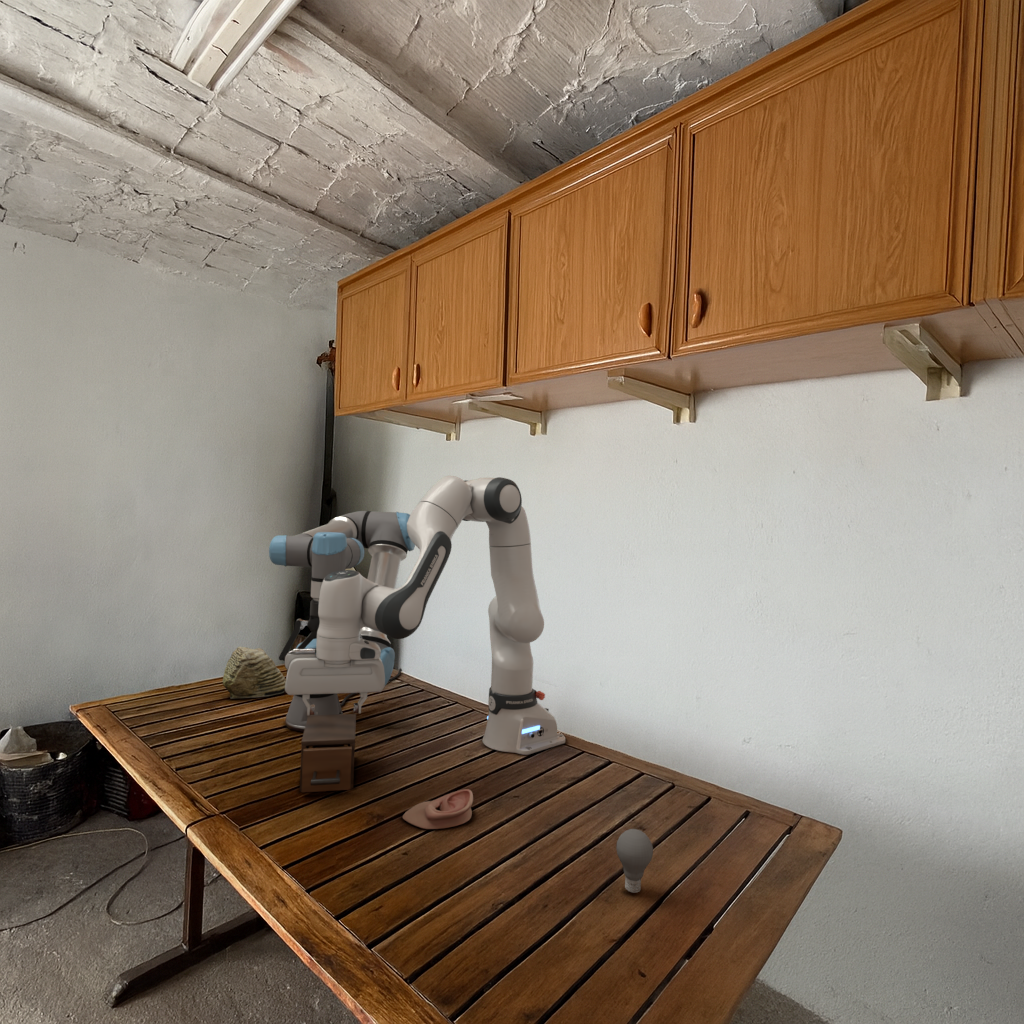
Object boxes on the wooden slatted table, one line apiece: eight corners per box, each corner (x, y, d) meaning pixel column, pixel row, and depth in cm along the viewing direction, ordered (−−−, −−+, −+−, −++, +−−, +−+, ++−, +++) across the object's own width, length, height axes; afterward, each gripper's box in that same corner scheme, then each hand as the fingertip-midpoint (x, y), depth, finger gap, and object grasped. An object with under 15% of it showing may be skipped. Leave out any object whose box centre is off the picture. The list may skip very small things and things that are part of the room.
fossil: (218, 695, 195) (220, 647, 195) (278, 685, 208) (279, 640, 207) (228, 703, 189) (230, 653, 188) (289, 692, 201) (290, 645, 201)
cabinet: (353, 788, 138) (355, 739, 138) (299, 792, 136) (301, 741, 135) (354, 758, 154) (356, 713, 154) (306, 760, 151) (308, 715, 151)
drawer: (349, 801, 130) (351, 758, 130) (299, 804, 128) (300, 761, 128) (351, 761, 150) (353, 723, 150) (307, 763, 148) (309, 725, 147)
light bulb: (610, 879, 108) (613, 822, 108) (644, 879, 109) (647, 822, 109) (619, 902, 102) (622, 840, 102) (655, 901, 103) (658, 840, 103)
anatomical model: (397, 804, 123) (417, 779, 135) (396, 824, 123) (417, 798, 135) (462, 814, 121) (478, 788, 132) (462, 835, 121) (477, 807, 132)
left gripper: (267, 600, 141) (264, 695, 141) (382, 602, 145) (378, 694, 146) (274, 595, 148) (270, 685, 149) (382, 597, 153) (379, 684, 153)
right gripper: (285, 652, 127) (281, 720, 127) (388, 651, 133) (384, 716, 133) (286, 645, 133) (282, 710, 133) (384, 644, 139) (380, 706, 139)
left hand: (324, 690), depth 147 cm, fingers open, 13 cm apart
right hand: (334, 713), depth 133 cm, fingers open, 8 cm apart
